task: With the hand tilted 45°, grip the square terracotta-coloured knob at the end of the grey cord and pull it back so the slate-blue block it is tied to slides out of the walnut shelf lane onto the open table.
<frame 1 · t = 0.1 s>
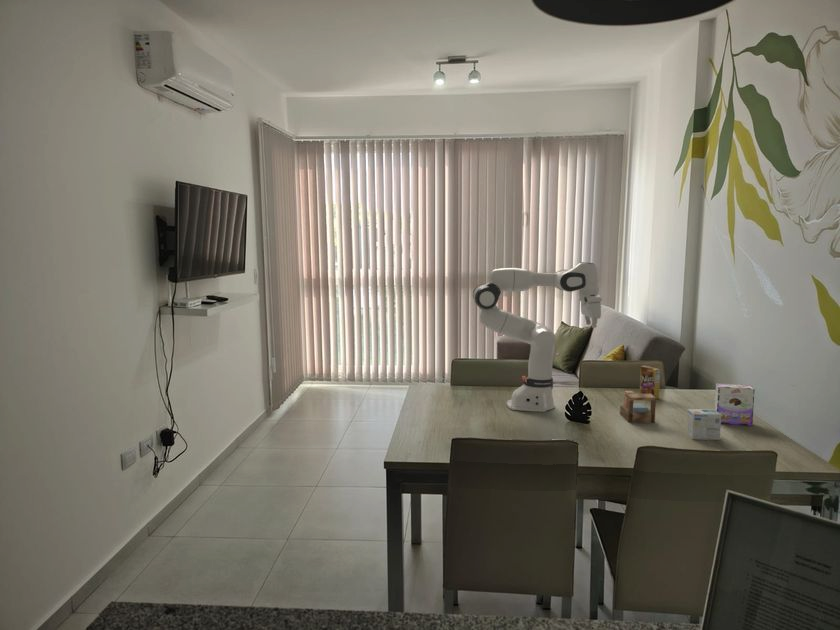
hand: (591, 326, 252), 39 cm above the table, tool pointing down, fingers open, 8 cm apart
candy box: (732, 423, 233), on the table
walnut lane: (636, 418, 240), on the table
tethered block: (637, 418, 239), on the table
light bulb box: (702, 437, 216), on the table
candy box 2: (649, 397, 273), on the table
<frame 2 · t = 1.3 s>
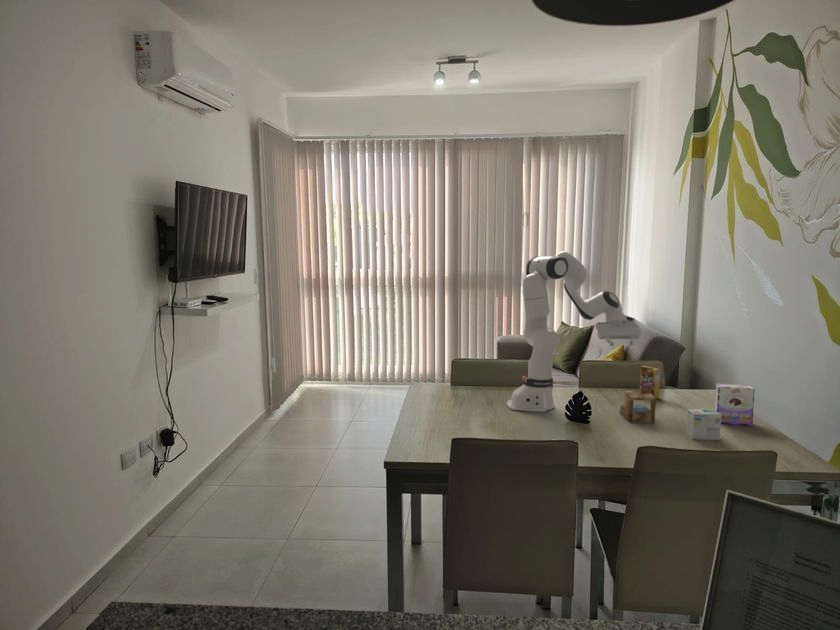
hand: (621, 345, 260), 28 cm above the table, tool tilted 45°, fingers open, 8 cm apart
nothing on the table moved.
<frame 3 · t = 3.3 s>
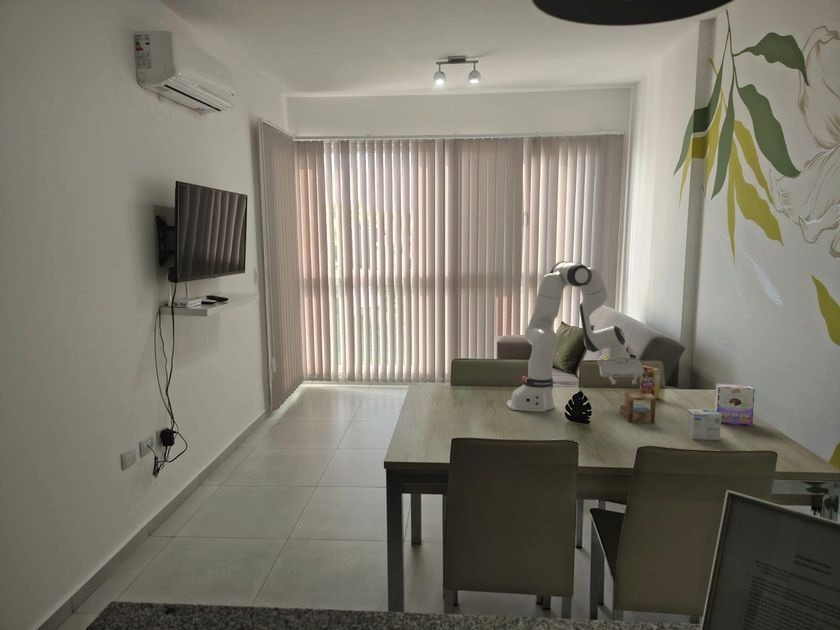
hand: (624, 383, 256), 11 cm above the table, tool tilted 45°, fingers open, 8 cm apart
nothing on the table moved.
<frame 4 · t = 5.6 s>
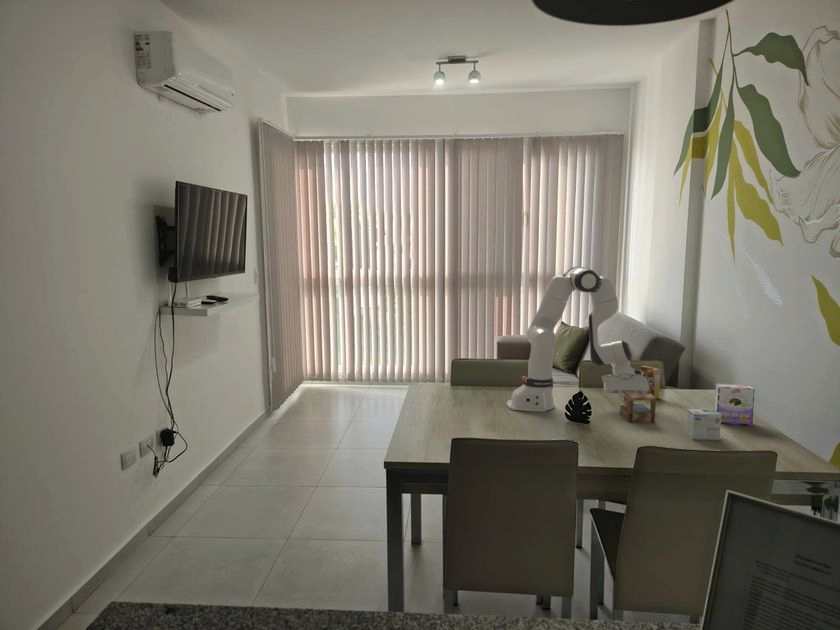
hand: (629, 400, 249), 5 cm above the table, tool tilted 45°, fingers closed on tethered block, 3 cm apart
tethered block: (637, 418, 239), on the table, touching gripper
everything else where it was.
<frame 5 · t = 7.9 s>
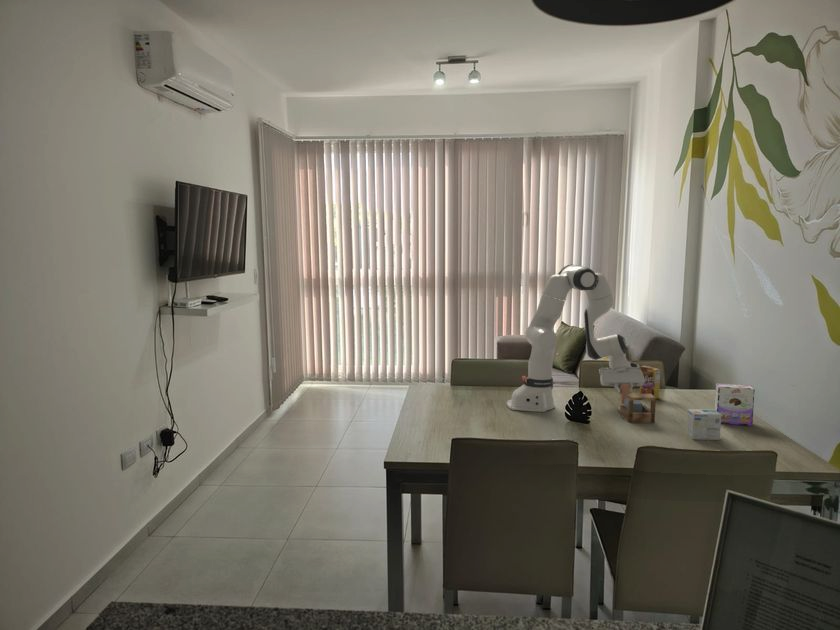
hand: (625, 392, 255), 7 cm above the table, tool tilted 45°, fingers closed on tethered block, 3 cm apart
tethered block: (632, 413, 245), on the table, tilted 7°, touching gripper
everything else where it was.
when the fingers open (5 cm above the table, at t = 10.7 s): tethered block stays where it is, on the table.
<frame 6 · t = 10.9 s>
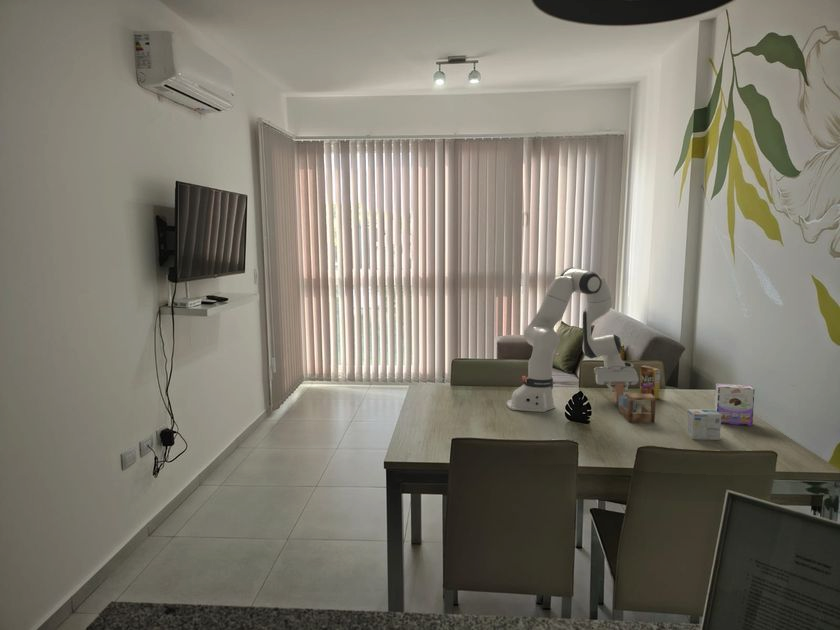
hand: (619, 391, 263), 5 cm above the table, tool tilted 45°, fingers open, 5 cm apart
tethered block: (626, 409, 253), on the table
everything else where it was.
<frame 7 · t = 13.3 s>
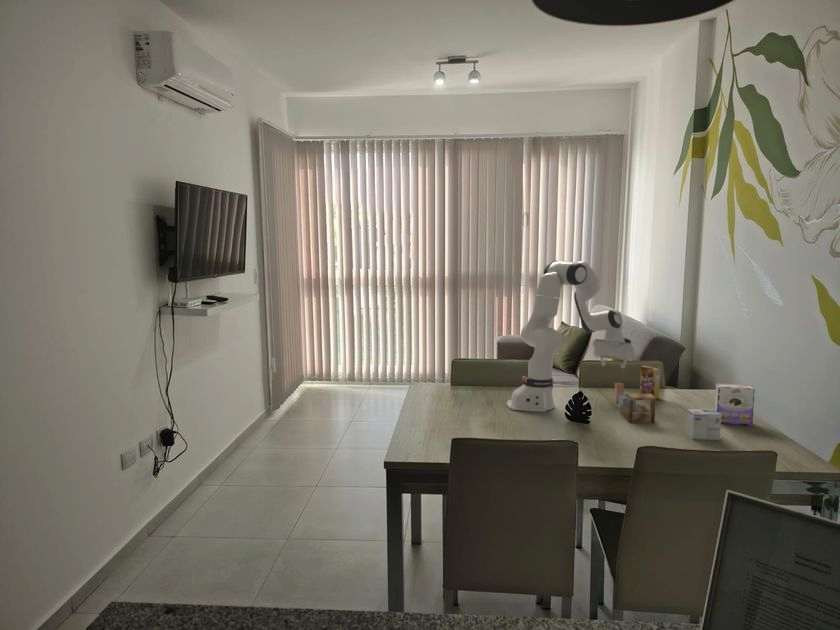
hand: (613, 366, 271), 16 cm above the table, tool tilted 30°, fingers open, 8 cm apart
nothing on the table moved.
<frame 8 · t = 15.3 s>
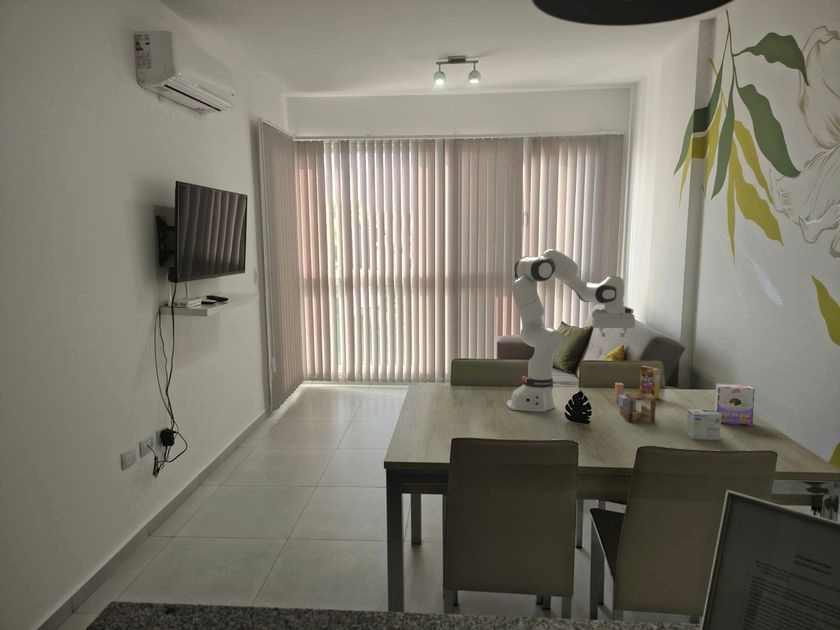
hand: (612, 336, 267), 31 cm above the table, tool pointing down, fingers open, 8 cm apart
nothing on the table moved.
at the end: tethered block inside the target area (1.5 cm from its centre), on the table; tethered block moved 14.3 cm from its start; the gripper is holding nothing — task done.
